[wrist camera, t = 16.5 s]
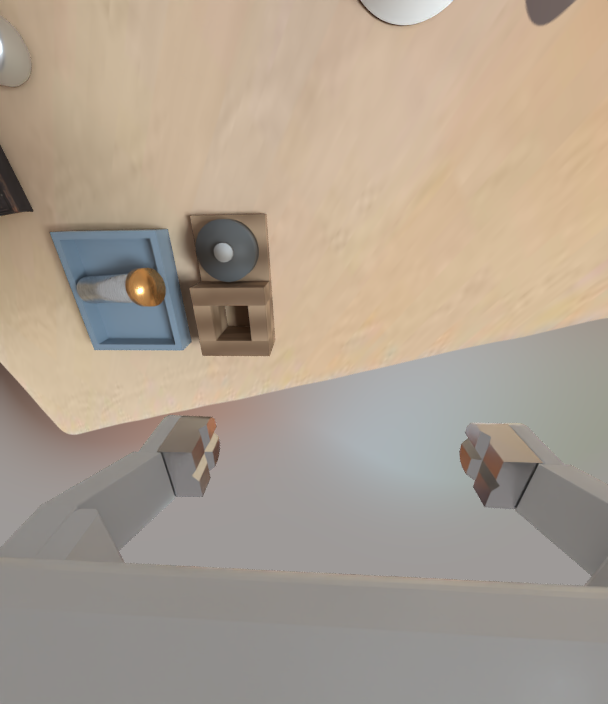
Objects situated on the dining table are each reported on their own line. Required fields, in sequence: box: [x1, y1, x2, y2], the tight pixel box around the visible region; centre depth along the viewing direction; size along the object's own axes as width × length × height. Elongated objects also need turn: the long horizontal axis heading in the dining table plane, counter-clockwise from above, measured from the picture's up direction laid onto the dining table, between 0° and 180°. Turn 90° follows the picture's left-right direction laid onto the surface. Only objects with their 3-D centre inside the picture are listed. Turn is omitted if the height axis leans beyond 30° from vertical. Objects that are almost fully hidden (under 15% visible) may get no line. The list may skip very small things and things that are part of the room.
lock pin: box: [77, 268, 166, 307], centre depth 41 cm, size 5×5×12 cm
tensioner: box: [189, 214, 275, 356], centre depth 41 cm, size 19×10×6 cm, turn 1°
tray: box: [50, 229, 192, 350], centre depth 44 cm, size 18×15×4 cm
